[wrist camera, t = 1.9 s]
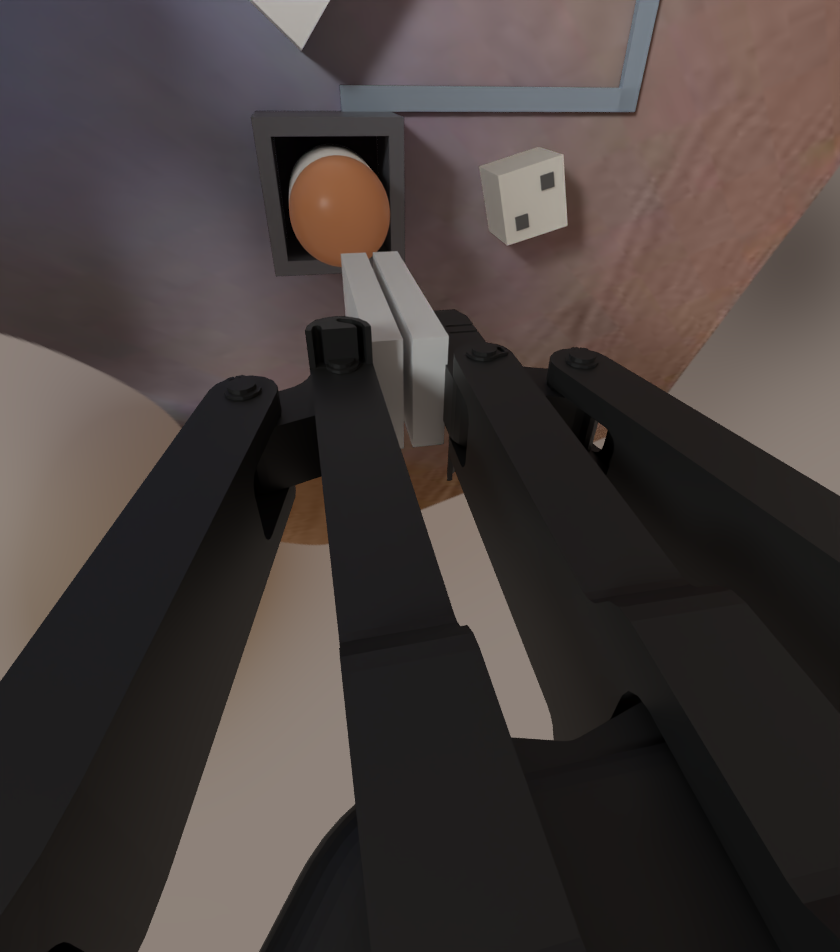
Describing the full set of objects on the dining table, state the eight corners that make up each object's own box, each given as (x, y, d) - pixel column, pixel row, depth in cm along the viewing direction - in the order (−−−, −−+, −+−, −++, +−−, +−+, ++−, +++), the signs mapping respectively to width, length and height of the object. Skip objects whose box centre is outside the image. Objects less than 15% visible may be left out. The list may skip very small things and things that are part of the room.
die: (488, 230, 36) (507, 246, 33) (478, 166, 33) (498, 176, 30) (543, 212, 36) (568, 226, 33) (537, 146, 33) (564, 154, 30)
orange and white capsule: (295, 242, 31) (297, 282, 25) (282, 144, 28) (281, 163, 22) (378, 239, 32) (398, 277, 26) (374, 143, 29) (396, 161, 23)
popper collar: (277, 252, 34) (275, 276, 30) (255, 110, 29) (250, 117, 25) (392, 248, 35) (404, 270, 31) (389, 111, 30) (404, 117, 26)
